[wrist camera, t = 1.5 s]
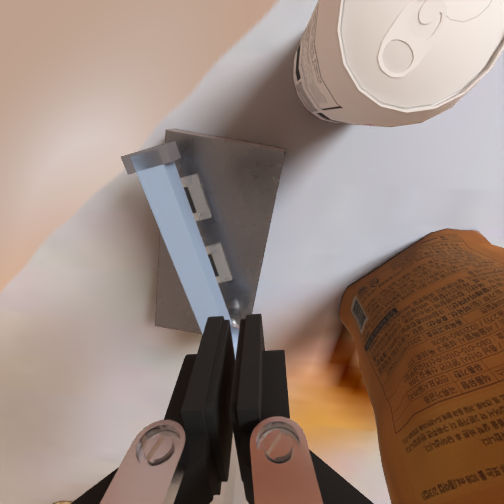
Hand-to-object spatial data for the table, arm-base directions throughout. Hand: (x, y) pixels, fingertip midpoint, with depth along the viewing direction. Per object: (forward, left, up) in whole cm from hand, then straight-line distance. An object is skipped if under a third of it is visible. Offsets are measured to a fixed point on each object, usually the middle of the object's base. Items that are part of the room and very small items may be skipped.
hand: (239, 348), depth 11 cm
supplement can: (+12, -5, -21) cm, 25 cm away
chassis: (-5, +3, -21) cm, 22 cm away
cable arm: (-5, +4, -15) cm, 16 cm away
